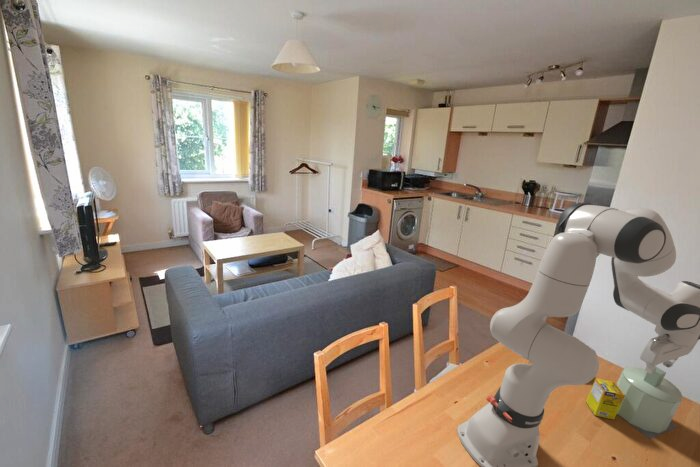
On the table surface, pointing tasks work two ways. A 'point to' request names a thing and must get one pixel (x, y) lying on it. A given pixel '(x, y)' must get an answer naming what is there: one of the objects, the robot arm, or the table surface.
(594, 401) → the supplement box
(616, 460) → the table surface
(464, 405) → the table surface
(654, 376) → the cloche
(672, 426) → the slate mat
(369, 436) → the table surface
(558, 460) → the table surface
